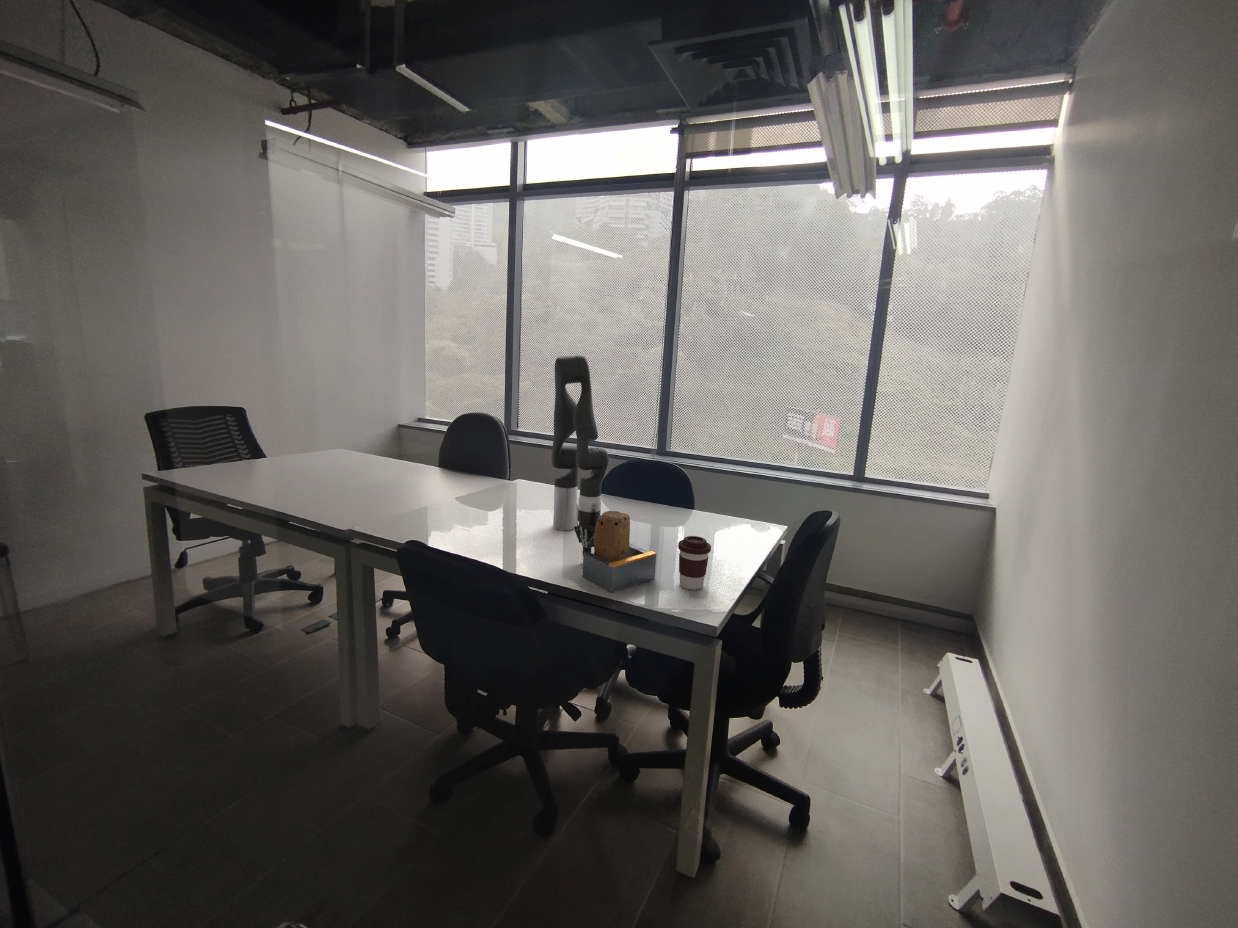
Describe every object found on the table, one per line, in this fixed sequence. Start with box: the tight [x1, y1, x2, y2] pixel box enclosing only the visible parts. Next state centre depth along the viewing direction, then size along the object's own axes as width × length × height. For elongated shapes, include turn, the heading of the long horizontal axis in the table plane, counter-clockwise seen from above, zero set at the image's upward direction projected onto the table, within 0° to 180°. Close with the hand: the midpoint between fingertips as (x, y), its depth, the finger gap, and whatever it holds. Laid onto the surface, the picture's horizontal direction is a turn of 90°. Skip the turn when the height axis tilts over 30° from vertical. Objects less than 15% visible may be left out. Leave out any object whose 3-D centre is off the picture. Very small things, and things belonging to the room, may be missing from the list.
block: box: [593, 510, 631, 562], centre depth 168 cm, size 11×8×20 cm
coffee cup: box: [677, 535, 712, 591], centre depth 163 cm, size 10×10×15 cm
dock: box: [581, 542, 657, 594], centre depth 166 cm, size 18×14×9 cm
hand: (586, 556), depth 178 cm, fingers closed
